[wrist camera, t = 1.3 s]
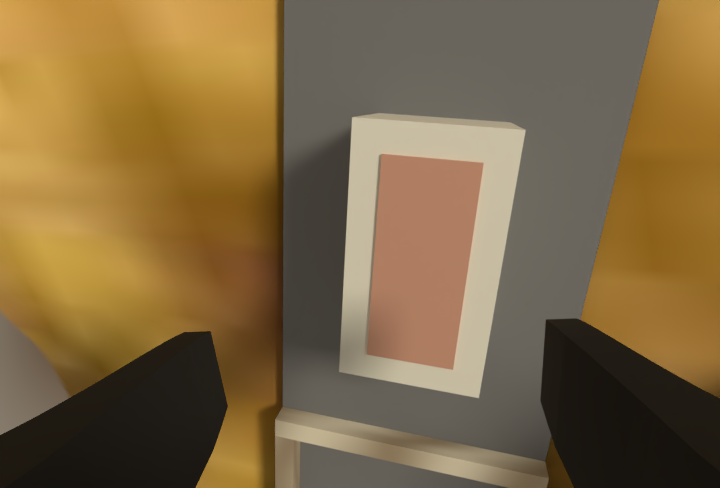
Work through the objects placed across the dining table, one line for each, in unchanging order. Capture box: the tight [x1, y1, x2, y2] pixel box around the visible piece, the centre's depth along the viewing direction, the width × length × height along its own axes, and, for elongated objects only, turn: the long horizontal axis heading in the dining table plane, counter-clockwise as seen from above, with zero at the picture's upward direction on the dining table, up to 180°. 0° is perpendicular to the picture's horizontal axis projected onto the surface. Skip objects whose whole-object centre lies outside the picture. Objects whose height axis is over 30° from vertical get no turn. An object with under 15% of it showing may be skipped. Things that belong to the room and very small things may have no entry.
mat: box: [283, 0, 659, 488], centre depth 21 cm, size 13×34×1 cm, turn 176°
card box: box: [339, 113, 526, 398], centre depth 16 cm, size 9×5×5 cm, turn 176°
